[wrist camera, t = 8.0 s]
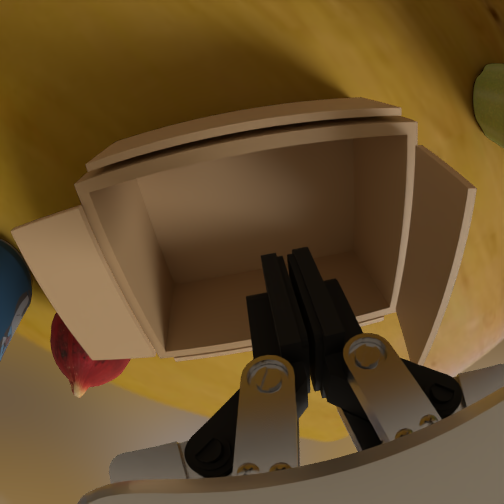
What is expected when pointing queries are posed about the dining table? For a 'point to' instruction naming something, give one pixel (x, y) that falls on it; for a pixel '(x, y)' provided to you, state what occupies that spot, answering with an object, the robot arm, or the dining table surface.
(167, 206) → the carton
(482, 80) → the plant pot
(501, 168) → the dining table surface
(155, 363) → the dining table surface
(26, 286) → the soda can
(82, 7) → the dining table surface
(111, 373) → the onion
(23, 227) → the flap
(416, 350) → the flap
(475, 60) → the dining table surface
